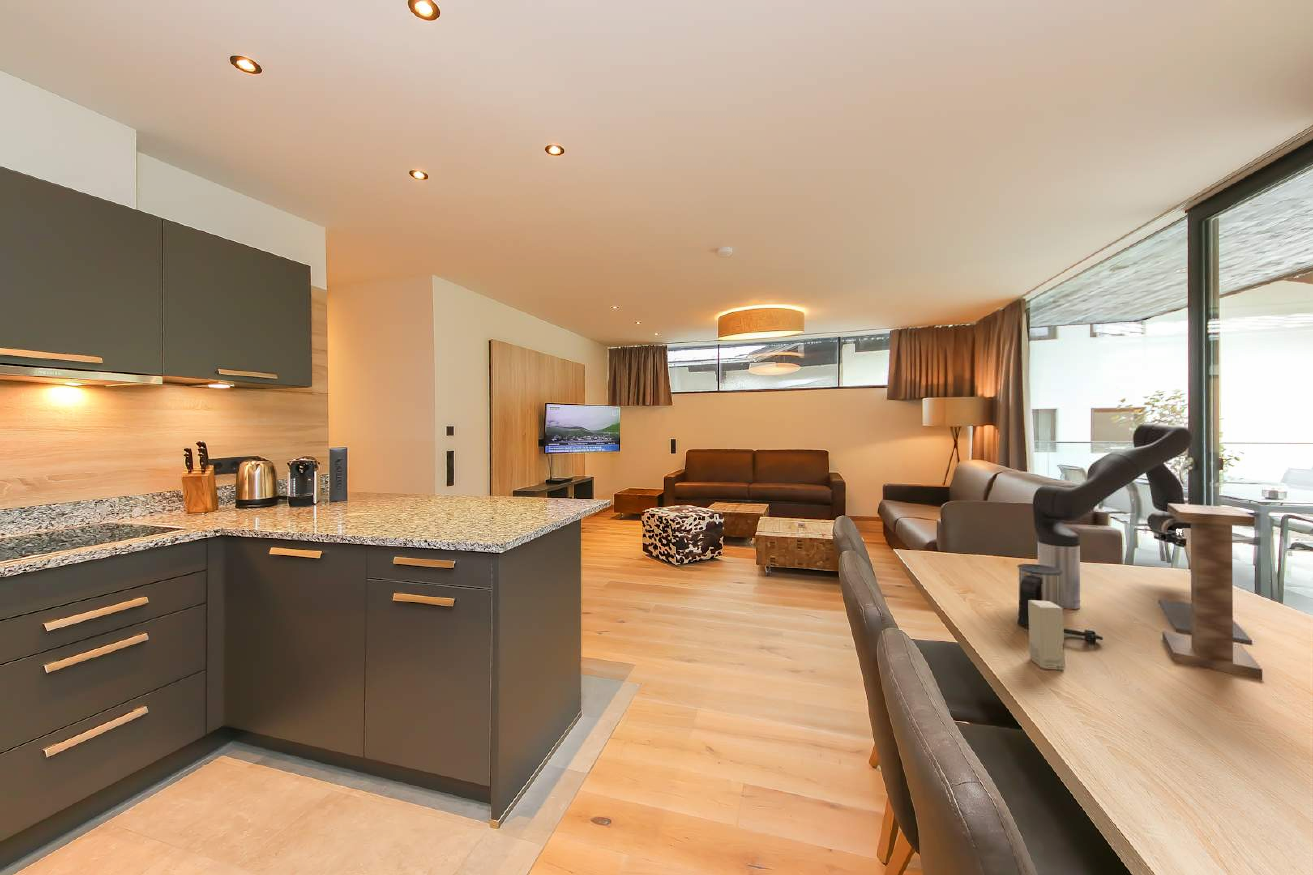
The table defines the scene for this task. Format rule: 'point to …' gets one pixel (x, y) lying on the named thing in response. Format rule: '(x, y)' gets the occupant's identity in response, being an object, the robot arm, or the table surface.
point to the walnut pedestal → (1211, 593)
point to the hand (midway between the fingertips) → (1194, 543)
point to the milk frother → (1043, 593)
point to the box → (1046, 634)
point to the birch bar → (1187, 544)
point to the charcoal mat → (1182, 619)
